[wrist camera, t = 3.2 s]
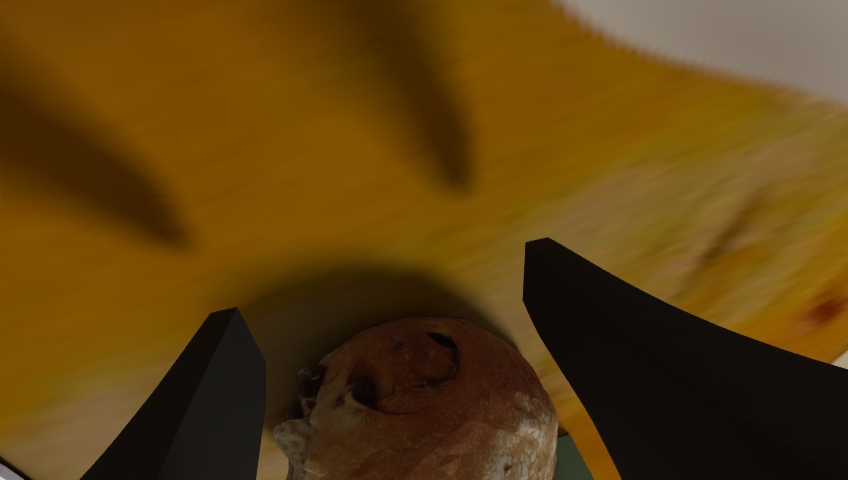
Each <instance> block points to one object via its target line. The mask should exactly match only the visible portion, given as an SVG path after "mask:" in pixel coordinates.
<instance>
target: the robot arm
mask: <svg viewBox="0 0 848 480" xmlns="http://www.w3.org/2000/svg"><path fill="white" fill-rule="evenodd" d="M523 302H524V304H525V307H526V309H527V311H528V313H529V316H530V318H531V320H532V322H533V324H534V326H535V328H536V330H537V332H538V334H539V336H540V338H541V339H542V341H543V342H544V344H545V346H546V347H547V349H548V350H549V352H550V354H551V355H552V357H553V358H554V360H555V362H556V363H557V365H558V366H559V368H560V369H561V371H562V373H563V374H564V376H565V377H566V379H567V380H568V382H569V384H570V385H571V387H572V388H573V390H574V391H575V393H576V395H577V396H578V398H579V399H580V401H581V402H582V404H583V406H584V407H585V409H586V411H587V412H588V414H589V416H590V418H591V419H592V421H593V423H594V425H595V427H596V429H597V430H598V432H599V434H600V436H601V438H602V440H603V442H604V444H605V446H606V448H607V450H608V452H609V454H610V456H611V458H612V460H613V462H614V464H615V466H616V468H617V470H618V472H619V475H620V477H621V479H622V480H848V369H845V368H841V367H838V366H834V365H831V364H828V363H824V362H821V361H818V360H814V359H811V358H808V357H805V356H802V355H799V354H795V353H792V352H789V351H786V350H783V349H780V348H777V347H774V346H772V345H769V344H766V343H763V342H760V341H758V340H755V339H752V338H749V337H746V336H744V335H741V334H738V333H736V332H733V331H730V330H728V329H725V328H723V327H720V326H718V325H715V324H713V323H711V322H708V321H706V320H704V319H701V318H699V317H697V316H694V315H692V314H690V313H687V312H685V311H683V310H681V309H678V308H676V307H674V306H672V305H670V304H668V303H666V302H664V301H662V300H660V299H658V298H656V297H654V296H652V295H650V294H648V293H646V292H644V291H642V290H640V289H638V288H636V287H634V286H632V285H630V284H629V283H627V282H625V281H623V280H621V279H619V278H618V277H616V276H614V275H612V274H610V273H609V272H607V271H605V270H603V269H602V268H600V267H598V266H597V265H595V264H593V263H591V262H590V261H588V260H586V259H585V258H583V257H581V256H580V255H578V254H576V253H574V252H573V251H571V250H569V249H568V248H566V247H564V246H563V245H561V244H559V243H557V242H556V241H554V240H552V239H550V238H548V237H547V238H543V239H538V240H534V241H529V242H526V244H525V264H524V283H523ZM265 405H266V362H265V360H264V358H263V356H262V354H261V352H260V350H259V348H258V347H257V345H256V343H255V341H254V339H253V337H252V335H251V333H250V331H249V329H248V327H247V325H246V323H245V321H244V319H243V317H242V315H241V313H240V312H239V310H238V308H237V307H235V308H231V309H226V310H222V311H217V312H213V313H210V314H209V316H208V317H207V318H206V320H205V321H204V322H203V324H202V325H201V327H200V328H199V329H198V331H197V332H196V334H195V335H194V336H193V338H192V339H191V341H190V342H189V343H188V345H187V346H186V348H185V349H184V350H183V352H182V353H181V355H180V356H179V357H178V359H177V360H176V362H175V363H174V364H173V366H172V367H171V368H170V370H169V371H168V372H167V374H166V375H165V377H164V378H163V379H162V381H161V382H160V383H159V385H158V386H157V387H156V389H155V390H154V391H153V393H152V394H151V395H150V397H149V398H148V399H147V400H146V402H145V403H144V404H143V405H142V407H141V408H140V409H139V410H138V411H137V413H136V414H135V415H134V416H133V418H132V419H131V420H130V421H129V423H128V424H127V425H126V426H125V428H124V429H123V430H122V431H121V433H120V434H119V435H118V436H117V438H116V439H115V440H114V441H113V442H112V444H111V445H110V446H109V447H108V448H107V449H106V451H105V452H104V453H103V454H102V455H101V456H100V457H99V459H98V460H97V461H96V462H95V463H94V464H93V465H92V467H91V468H90V469H89V470H88V471H87V472H86V473H85V474H84V475H83V476H82V477H81V478H80V480H256V475H257V467H258V460H259V452H260V445H261V437H262V429H263V421H264V413H265ZM0 480H24V479H23V478H21V477H20V476H18V475H17V474H16V473H14V472H13V471H11V470H10V469H9V468H7V467H6V466H4V465H2V464H0Z"/></svg>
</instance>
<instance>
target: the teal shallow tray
mask: <svg viewBox="0 0 848 480" xmlns="http://www.w3.org/2000/svg"><path fill="white" fill-rule="evenodd" d="M556 457H557V460H556V464H555V469H554V474H553V478H552V480H594V478H593V477H592V475H591V473H590V471H589V469H588V467H587V465H586V464H585V462H584V460H583V458H582V456H581V454H580V452H579V451H578V449H577V447H576V445H575V443H574V441H573V439H572V438H571V436H570V434H568V435H565V436H561V437H558V438H557V447H556Z"/></svg>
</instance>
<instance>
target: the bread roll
mask: <svg viewBox="0 0 848 480" xmlns="http://www.w3.org/2000/svg"><path fill="white" fill-rule="evenodd" d="M296 378H297V383H298V385H299V395H298V398H297V399H296V400H294V401H292V402H291V404H290V405H289V407H288V408H287V415H286V421H285V422H282V424H278V425H276V426H275V428H274V429H273V430H272V433H273V435H274V439H275V443H276V445H277V446H278V447H279V448H280V449H281V450H282V451H283V453H284V454H285V456H286V457H287V458H288V459H289V469H288V475H287V478H286V480H552V478H553V474H554V469H555V464H556V460H557V457H556V447H557V435H558V433H557V429H558V417H557V414H556V411H555V408H554V405H553V403H552V401H551V399H550V398H549V396H548V394H547V392H546V391H545V390H544V388H543V386H542V384H541V383H540V381H539V379H538V377H537V375H536V373H535V371H534V369H533V368H532V367H531V365H530V364H529V363H528V362H527V360H526V359H525V358H524V357H523V356H522V355H521V354H520V353H519V352H518V351H517V350H516V349H515V348H514V347H513V346H511V345H509V344H507V343H506V342H505V341H504V340H503V339H501V338H497V337H496V336H495V335H494V334H492V333H491V332H489V331H487V330H485V329H483V328H481V327H479V326H477V325H475V324H474V323H471V322H469V321H467V320H464V319H461V318H450V317H409V318H402V319H398V320H394V321H390V322H386V323H383V324H380V325H377V326H373V327H370V328H367V329H365V330H363V331H361V332H359V333H358V334H357V335H355V336H354V337H352V338H351V339H350V340H348V341H347V342H345V343H344V344H342V345H341V346H340V347H338V348H337V349H335V350H334V351H332V352H330V353H328V354H326V355H325V356H324V357H323V358H322V359H321V360H320V362H319V363H318V365H317V366H316V367H314V368H313V369H311V370H307V369H306V367H305V368H302V369H301V370H300V371H299V372H298V373H296Z"/></svg>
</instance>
